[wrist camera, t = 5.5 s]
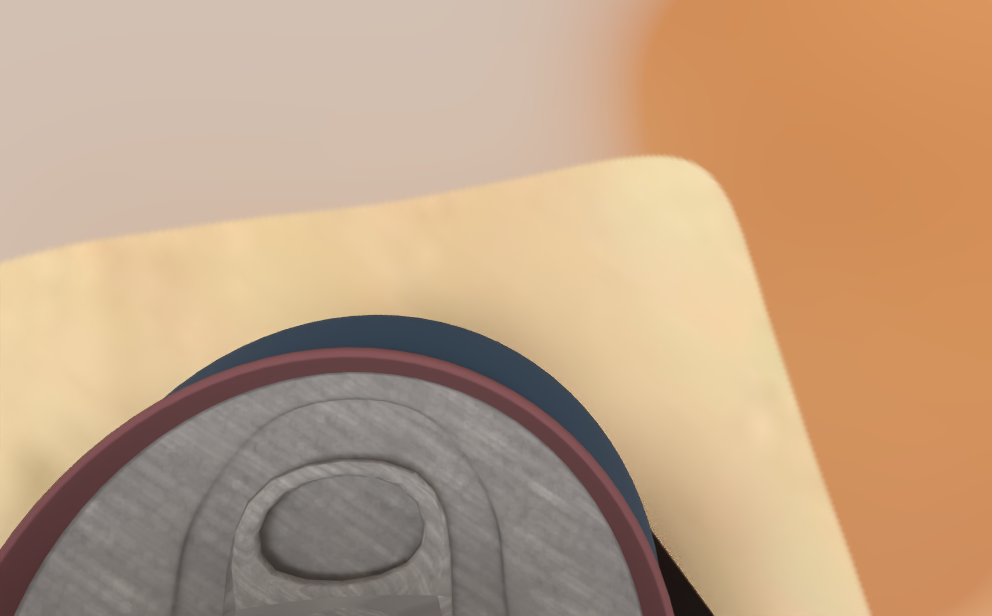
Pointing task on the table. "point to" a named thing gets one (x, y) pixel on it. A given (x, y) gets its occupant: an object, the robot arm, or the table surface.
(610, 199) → the table surface
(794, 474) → the table surface
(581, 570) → the soda can
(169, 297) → the table surface
